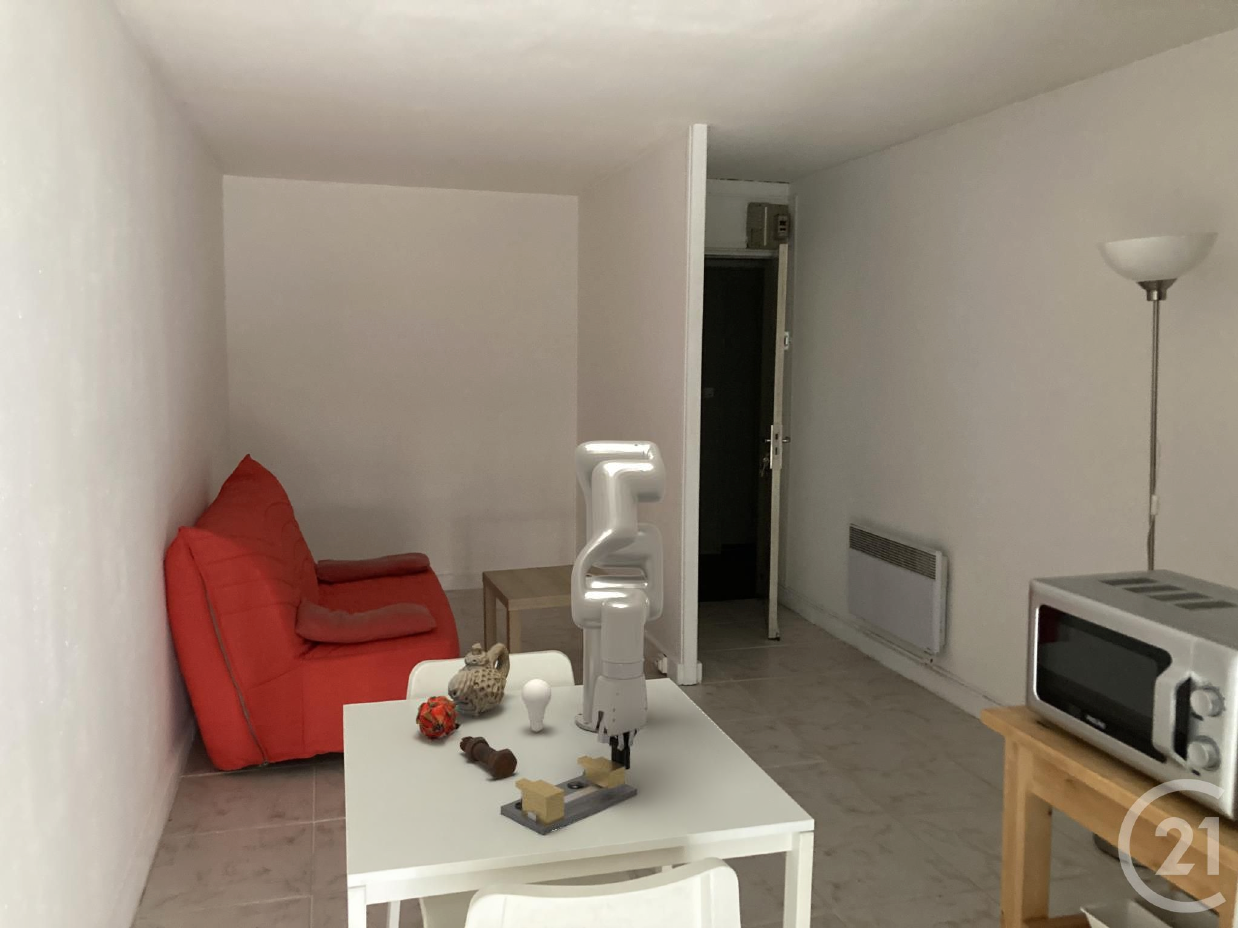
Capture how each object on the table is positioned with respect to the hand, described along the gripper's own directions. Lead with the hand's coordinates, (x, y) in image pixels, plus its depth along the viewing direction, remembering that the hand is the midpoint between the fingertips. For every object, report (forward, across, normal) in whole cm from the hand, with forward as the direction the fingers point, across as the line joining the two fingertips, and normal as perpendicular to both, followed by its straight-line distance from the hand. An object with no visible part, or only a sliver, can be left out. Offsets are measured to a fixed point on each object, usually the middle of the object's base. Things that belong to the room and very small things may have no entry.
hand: (620, 767), depth 182 cm
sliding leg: (+2, +4, -2) cm, 5 cm away
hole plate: (+4, +10, -2) cm, 11 cm away
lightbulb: (+4, -8, -32) cm, 33 cm away
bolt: (+5, +10, -26) cm, 28 cm away
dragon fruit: (+4, +8, -44) cm, 45 cm away
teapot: (+4, -7, -50) cm, 51 cm away
